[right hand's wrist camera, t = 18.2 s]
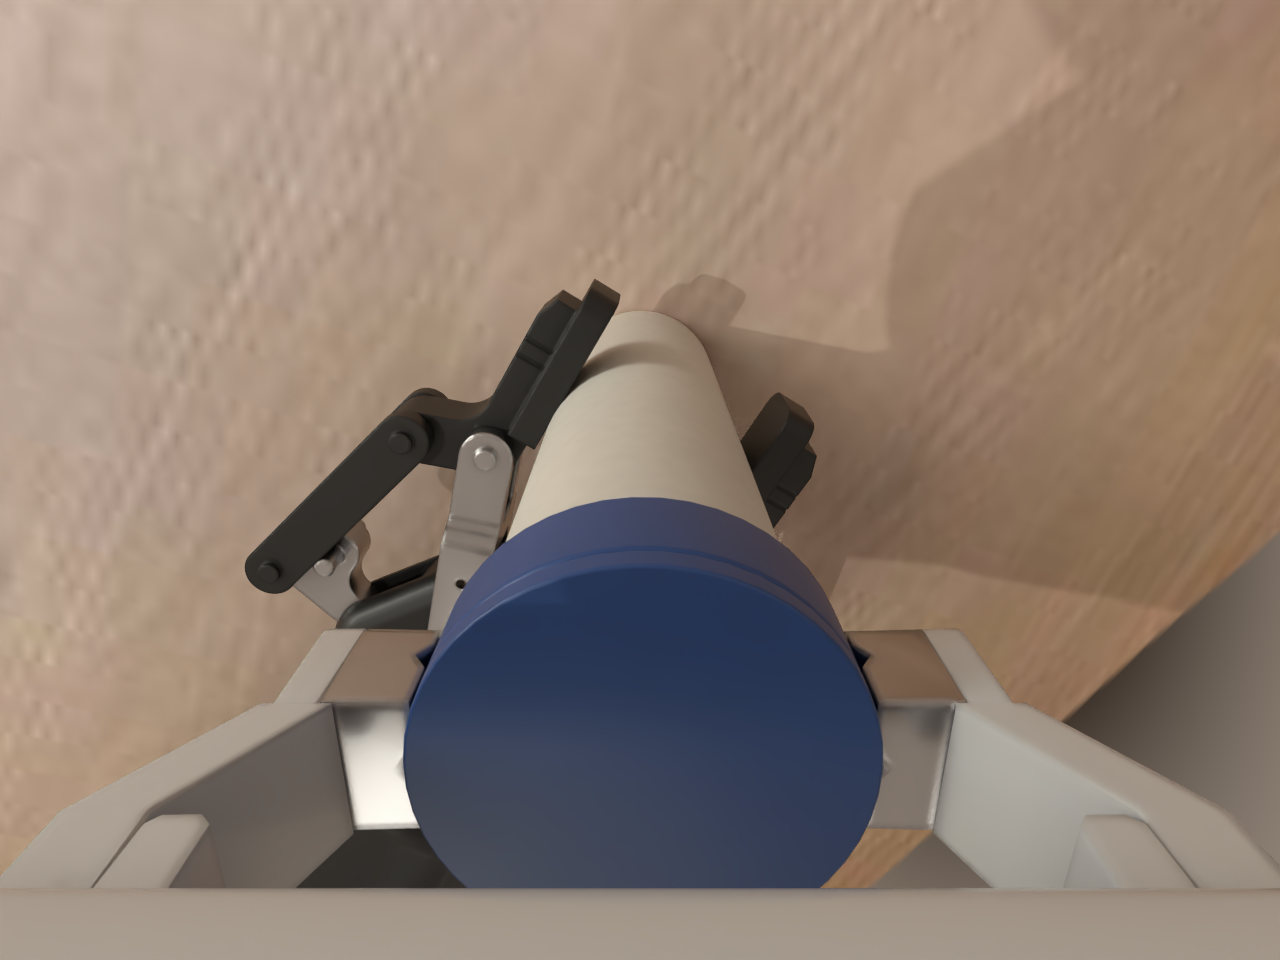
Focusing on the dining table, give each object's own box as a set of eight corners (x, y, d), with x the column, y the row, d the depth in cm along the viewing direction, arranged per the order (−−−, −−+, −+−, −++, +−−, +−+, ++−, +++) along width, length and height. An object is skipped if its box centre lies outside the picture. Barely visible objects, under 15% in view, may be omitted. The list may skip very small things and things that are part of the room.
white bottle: (736, 345, 24) (902, 637, 9) (676, 469, 26) (730, 905, 10) (602, 286, 24) (532, 491, 8) (548, 418, 25) (405, 799, 10)
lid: (362, 690, 10) (306, 793, 9) (627, 405, 9) (623, 460, 7) (655, 889, 11) (656, 1014, 10) (927, 667, 10) (985, 766, 8)
